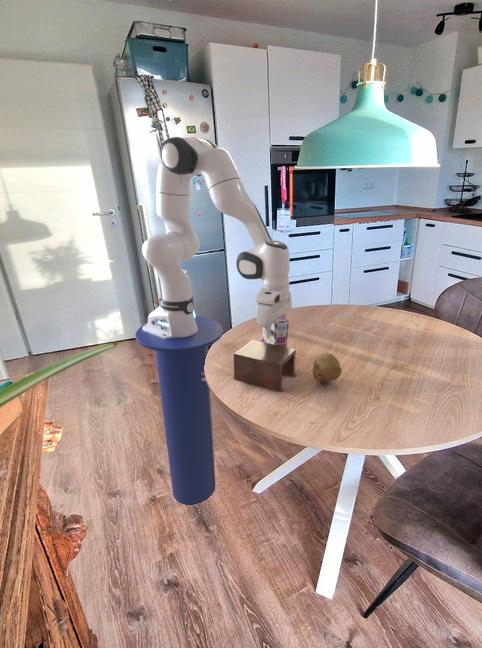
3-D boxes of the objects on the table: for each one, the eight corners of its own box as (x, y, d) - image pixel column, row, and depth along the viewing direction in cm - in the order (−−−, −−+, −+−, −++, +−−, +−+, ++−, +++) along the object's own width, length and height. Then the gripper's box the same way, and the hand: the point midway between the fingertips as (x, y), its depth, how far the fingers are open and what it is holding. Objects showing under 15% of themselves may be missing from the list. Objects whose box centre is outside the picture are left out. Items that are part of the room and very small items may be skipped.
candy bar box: (285, 365, 135) (289, 321, 128) (272, 367, 132) (275, 322, 126) (273, 351, 144) (276, 310, 137) (260, 353, 142) (262, 311, 135)
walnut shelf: (234, 379, 124) (233, 353, 120) (252, 364, 134) (252, 339, 130) (279, 391, 119) (280, 364, 115) (294, 374, 129) (295, 349, 125)
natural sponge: (344, 380, 126) (347, 353, 122) (332, 392, 119) (335, 364, 115) (319, 372, 130) (321, 346, 126) (307, 384, 123) (308, 356, 119)
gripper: (280, 282, 138) (279, 319, 143) (252, 298, 120) (253, 339, 126) (296, 285, 135) (295, 321, 141) (270, 301, 118) (270, 342, 124)
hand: (275, 330), depth 134 cm, fingers open, 8 cm apart
